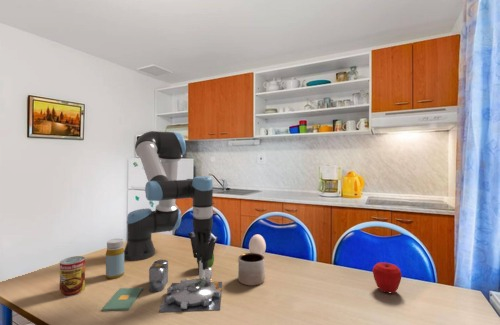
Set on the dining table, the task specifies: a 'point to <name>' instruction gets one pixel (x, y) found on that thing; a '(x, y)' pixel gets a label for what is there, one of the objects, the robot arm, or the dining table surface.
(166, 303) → the bearing plate
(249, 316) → the dining table surface
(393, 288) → the apple
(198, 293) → the sprocket
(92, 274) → the dining table surface
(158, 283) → the silver capsule block
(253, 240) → the egg
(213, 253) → the fruit
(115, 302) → the green flat board
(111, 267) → the bottle
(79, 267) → the canned food
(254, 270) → the planter
